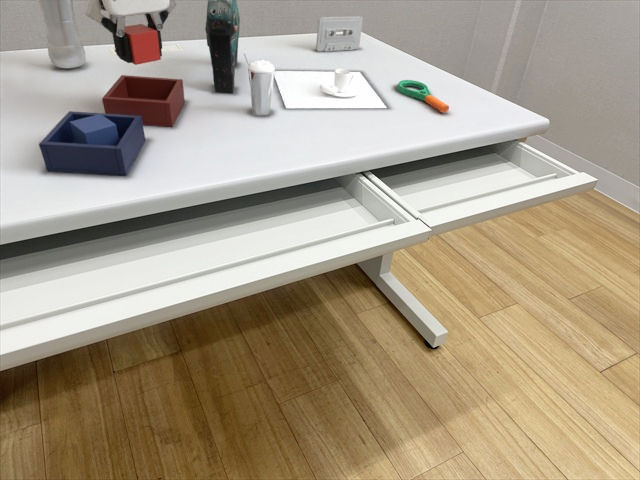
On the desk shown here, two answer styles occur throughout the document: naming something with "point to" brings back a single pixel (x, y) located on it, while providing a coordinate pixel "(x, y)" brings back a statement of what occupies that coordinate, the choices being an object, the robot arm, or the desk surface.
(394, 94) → the desk surface
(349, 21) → the cassette
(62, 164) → the blue bin
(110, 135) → the blue block
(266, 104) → the milkshake
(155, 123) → the red bin
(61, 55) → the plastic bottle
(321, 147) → the desk surface
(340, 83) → the teacup and saucer
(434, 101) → the magnifying glass
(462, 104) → the desk surface
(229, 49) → the power drill
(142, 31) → the red block
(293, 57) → the desk surface
